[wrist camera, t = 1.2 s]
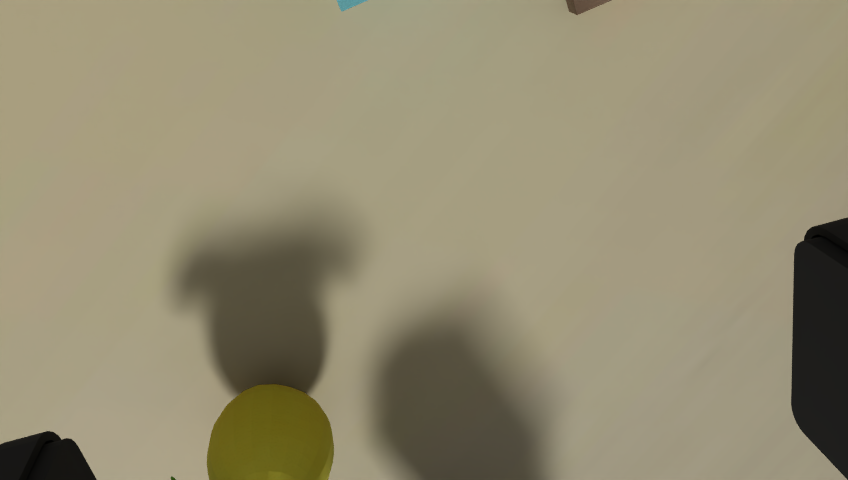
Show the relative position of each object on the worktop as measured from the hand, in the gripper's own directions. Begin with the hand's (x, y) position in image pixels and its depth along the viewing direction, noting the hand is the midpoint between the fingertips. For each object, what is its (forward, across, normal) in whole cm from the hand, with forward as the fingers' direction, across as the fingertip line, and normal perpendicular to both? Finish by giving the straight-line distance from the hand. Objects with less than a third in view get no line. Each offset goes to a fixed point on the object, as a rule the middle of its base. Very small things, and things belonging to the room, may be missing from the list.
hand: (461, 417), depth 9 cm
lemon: (+23, +8, +15) cm, 28 cm away
